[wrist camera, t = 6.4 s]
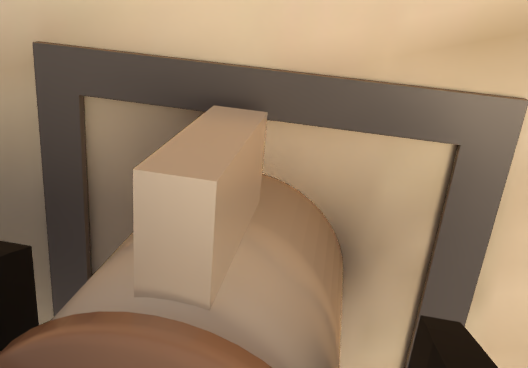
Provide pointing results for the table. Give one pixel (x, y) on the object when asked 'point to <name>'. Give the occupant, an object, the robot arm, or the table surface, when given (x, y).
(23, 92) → the table surface
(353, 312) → the table surface
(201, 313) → the cylinder with tab
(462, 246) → the tape outline
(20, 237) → the table surface
